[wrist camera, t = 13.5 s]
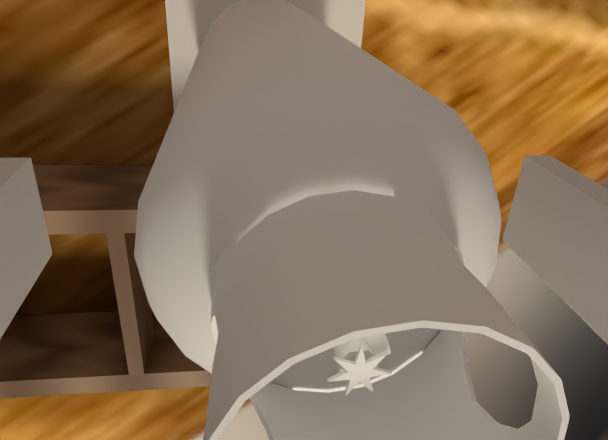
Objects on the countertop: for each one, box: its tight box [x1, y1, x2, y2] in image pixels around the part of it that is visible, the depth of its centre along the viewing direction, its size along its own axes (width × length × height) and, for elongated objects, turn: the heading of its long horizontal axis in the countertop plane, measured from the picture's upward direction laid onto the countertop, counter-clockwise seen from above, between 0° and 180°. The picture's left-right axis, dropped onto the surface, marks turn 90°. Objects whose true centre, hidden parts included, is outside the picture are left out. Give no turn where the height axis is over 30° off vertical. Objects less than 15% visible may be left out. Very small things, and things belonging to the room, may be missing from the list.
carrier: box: [0, 165, 212, 398], centre depth 34 cm, size 26×14×7 cm, turn 88°
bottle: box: [134, 0, 570, 440], centre depth 18 cm, size 8×8×28 cm
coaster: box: [165, 0, 366, 112], centre depth 31 cm, size 12×12×1 cm
